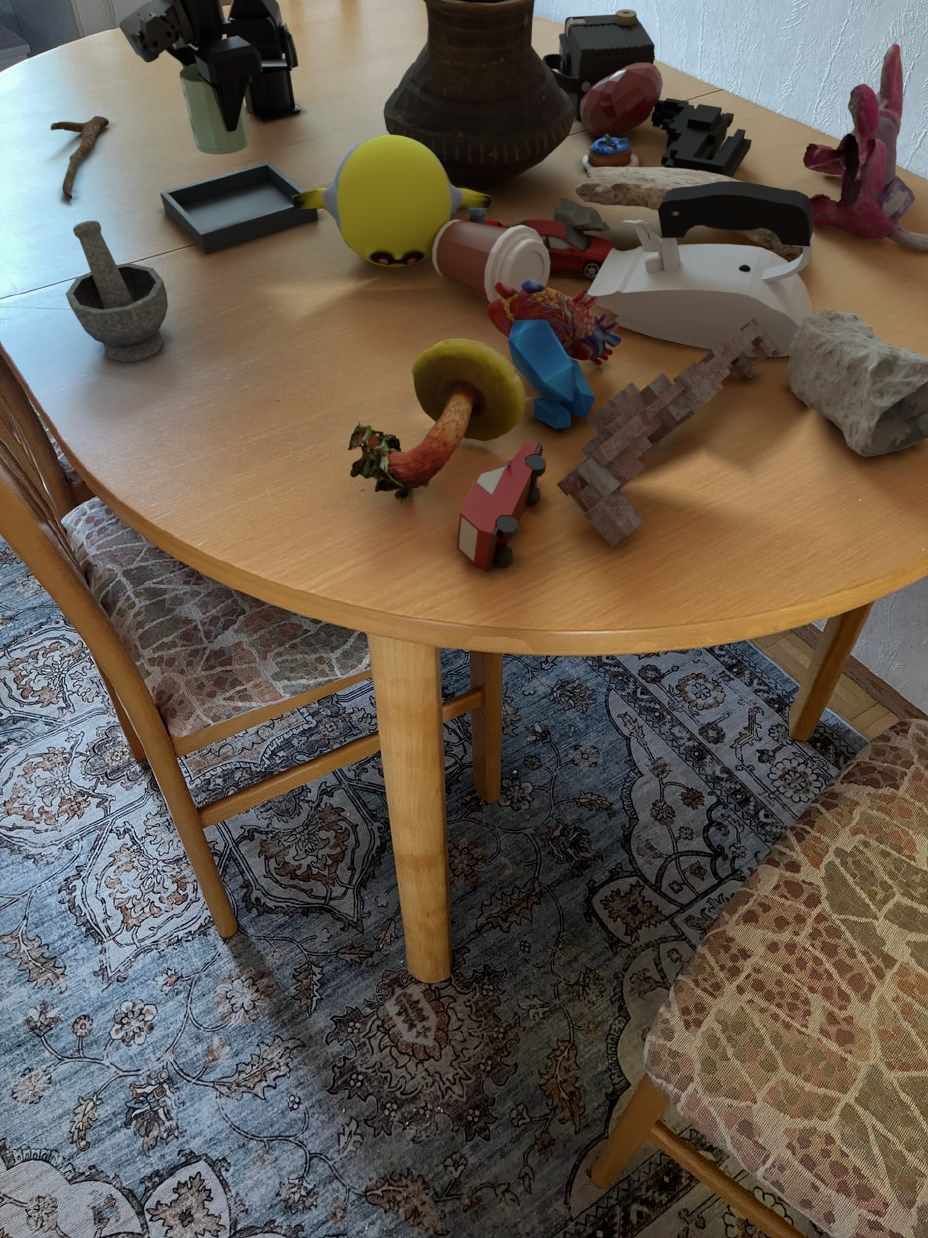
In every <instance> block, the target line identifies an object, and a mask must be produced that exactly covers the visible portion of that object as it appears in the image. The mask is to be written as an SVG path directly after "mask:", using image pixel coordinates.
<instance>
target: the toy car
mask: <svg viewBox="0 0 928 1238" xmlns="http://www.w3.org/2000/svg"><path fill="white" fill-rule="evenodd" d="M500 222H501V221H500ZM500 222H495V223H494V224H493V226H495V227H501V228H506V229H509V228H511V227H515V226H519V225H524V226H527V227H529V228H532V229H534V230H536V231H537V233H538V234H539V236H540V237H541V239H542V240H543V244H544V245H545V247H546V248H547V250H548V253H549V258H550V271H551V270H552V271H554V270H555V271H565V272H566V271H567V272H575V273H582V274H583V276H584V277H585V278H586V279H588V280H595V278H596V276H597V274H598V272H599V271H600V269H601V267H602V265H603V263H604V261H605V260H606V258H607V256H608V254H609V252H610V250H611V249H612V248H614V249H616V250H617V248H616V247H615V245H614V243H613V242H612V241H611V240H609V239H607V238H604V237H601V236H597V235H593V234H589V233H586V232H582V231H580V230H578V229H576V228H573V227H571V225H569V224H567V223H564V222H561V221H556V220H553V219H541V218H529V219H525V220H522V221H519V222H516V223H513V224H511V225H505V226H503V224H504V223H503V222H502V223H503V224H502V223H500ZM496 225H498V226H496Z"/></svg>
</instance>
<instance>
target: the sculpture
mask: <svg viewBox="0 0 928 1238" xmlns="http://www.w3.org/2000/svg"><path fill="white" fill-rule="evenodd" d="M740 330H741V332H740V333H739V334H738V335H736V336H735V337H734V338H733V339H732V338H731V337H730V336H728V337H727V338H726V339H725V340H724V341H723V342H721V343H720V344H719V345H718V346H717V347H715V348H714V349H713V350H711V351H709V352H708V353H707V354H705V356H704V357H703V358H701V359H700V360H699V361H698V362H697V363H696V362H695V361H693V362H691V364H689V365H688V366H687V367H686V368H685V369H684V370H683V371H681V372H680V373H679V374H678V375H676V376H675V377H674V378H673V379H672V381H673V382H674V384H673V383H672V382H671V381H670V379H669V378H668V377H667V376H666V375H665V374H664V372H662V373H660V374H659V375H658V376H656V378H654V379H653V380H652V381H650V382H649V383H648V384H647V385H646V386H644V388H642V389H641V390H639V387H637V386H636V384H635V383H634V382H633V381H631V382H630V383H628V384H627V385H626V386H624V387H623V388H622V389H621V390H620V391H619V392H617V393H615V395H613V396H612V397H611V398H610V399H609V400H607V401H606V402H605V404H603V405H602V406H601V407H600V408H599V409H598V410H597V411H596V412H595V413H594V414H593V415H592V416H591V417H589V418H588V419H587V421H588V423H589V424H590V425H591V426H592V427H593V429H594V430H595V431H596V432H597V434H596V435H595V436H594V437H593V438H591V439H590V440H589V441H588V442H587V443H586V444H585V445H583V447H581V448H580V451H582V453H583V454H584V455H585V456H586V457H587V458H585V459H584V460H583V461H582V462H581V463H580V464H578V465H577V466H576V467H575V468H574V469H572V470H571V471H570V472H569V473H567V474H566V475H565V476H564V477H563V478H562V479H560V481H558V482H556V486H557V487H558V488H559V489H560V491H561V493H563V495H565V497H568V496H570V498H571V499H572V500H573V501H574V502H575V504H576V505H577V506H578V507H579V508H580V510H581V511H582V512H583V515H584V516H585V518H586V519H587V520H588V521H589V522H590V524H591V525H592V526H593V527H594V528H595V530H596V531H597V532H598V533H599V534H600V536H601V537H602V538H603V539H604V540H605V542H606V543H607V544H608V545H609V546H610V548H612V547H614V546H615V545H617V544H618V543H620V542H621V541H623V540H624V539H626V538H627V537H629V535H630V534H631V533H633V532H634V531H635V529H637V528H638V526H640V525H641V524H642V523H643V522H644V521H645V519H644V517H643V516H642V515H641V514H640V512H639V511H638V510H637V509H636V508H635V507H634V506H633V504H632V503H631V502H630V500H628V498H627V497H626V496H625V495H624V493H622V491H621V489H623V488H624V487H625V486H626V485H628V484H629V483H630V482H631V481H632V480H633V479H634V478H635V477H637V476H638V475H639V474H640V473H641V472H642V471H643V470H644V469H645V468H646V466H645V465H644V464H643V462H642V461H641V460H640V457H641V456H642V455H643V454H645V452H647V451H648V450H649V449H650V448H651V447H653V442H654V444H655V445H657V444H658V443H659V442H661V441H662V440H663V439H665V438H666V437H667V436H668V435H670V434H671V433H672V432H673V431H674V430H675V429H677V428H678V427H680V426H681V425H682V424H683V423H685V422H686V421H687V420H688V419H690V418H691V417H692V416H693V415H695V414H696V413H697V412H698V411H699V410H701V409H702V408H703V407H704V406H705V405H706V404H707V403H708V402H709V401H710V400H711V399H713V398H714V397H715V396H716V395H717V394H718V393H720V392H721V391H722V390H723V389H724V388H725V386H723V384H722V383H721V382H722V381H723V380H725V378H727V377H728V376H729V375H730V374H732V375H733V377H734V378H735V380H736V381H739V380H740V379H741V378H742V377H744V376H745V375H746V376H747V377H748V379H751V378H753V377H754V376H755V375H756V374H757V373H756V372H755V370H754V369H753V368H754V367H755V364H754V363H753V362H752V361H751V359H750V357H747V356H746V355H745V353H744V352H743V351H742V349H744V348H745V347H746V346H747V345H748V344H749V343H750V342H751V343H752V345H753V346H754V347H755V348H754V349H753V350H752V353H753V354H754V355H755V356H756V357H755V358H756V359H757V360H758V361H759V363H761V362H763V361H764V360H765V359H766V358H768V357H767V356H769V355H770V354H772V355H773V357H772V358H774V359H777V358H778V356H779V355H780V354H781V352H780V350H779V349H778V347H777V345H776V344H775V343H774V342H773V340H772V339H771V338H770V337H769V336H768V334H767V333H766V332H765V331H764V330H763V328H762V327H761V326H760V325H759V323H758V322H757V321H756V320H755V319H754V318H753V319H752V320H751V321H749V322H748V323H747V324H746V325H745V326H744V327H742V328H741V329H740ZM729 365H731V367H730V368H728V367H727V366H729Z"/></svg>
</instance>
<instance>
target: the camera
mask: <svg viewBox="0 0 928 1238" xmlns="http://www.w3.org/2000/svg"><path fill="white" fill-rule="evenodd" d="M637 14H638V13H637V12H636V11H635V10H633V9H628V8H627V9H618V10H617V11H616V12H615V14H598V15H578V16H568V17H567V16H566V18H565V19H564V29H563V30H564V32H563V33H562V32H561V33H559V34H558V39H559V45H558V46H559V47H558V49H559V50H558V53H549V54H546V55H543V57H542V60H543V63H544V64H545V65H546V66H547V67H548V69H549V70H550V71H551V72H552V73H553V75H554V77H555V79H556V82H557V84H558V86H559V87H560V88H562V89H563V90H564V92H565V93H566V94H567V95H568V96H569V98H570V99H571V100H572V104H573V111H574V117H575V119H576V120H582V118H581V114H580V103H581V100H582V98H583V97H584V95H585V94H586V93H587V92H588V90H589V89H590V88H591V87H592V86H593V85H594V84H596V83H597V82H599V81H601V80H602V79H604V78H606V77H608V76H609V75H611V74H613V73H615V72H617V71H619V70H621V69H623V68H625V67H627V66H629V65H631V64H634V63H651V64H653V65H654V63H655V62H654V61H655V60H656V54H655V47H656V45H655V43H654V41H653V40H652V39H651V37H650V35H649V33H648V32H647V30H646V28H645V27H644V26H643V24H642V23H641V21H640V20H639V19H638V17H637ZM556 70H557V71H556Z"/></svg>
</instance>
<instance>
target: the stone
mask: <svg viewBox="0 0 928 1238" xmlns="http://www.w3.org/2000/svg"><path fill="white" fill-rule="evenodd" d="M552 220H556V221H561V222H564V223H567V224H569V225H571V227H573V228H576V229H578V230H580V231H582V232H583V233H587V232H591V231H594V232H598V233H599V232H600V233H603V232H610V231H611V228H610V226H608V224H607V223H606V222H605V221H603V219H602V216H601V215H600V213H599V212H598V210H597V209H595V208H594V207H591V206H585V205H582V204H580V203H578V202H576V201H574V200H572V199H570V198H569V197H561V198H559V201H558V204H557V205H556V206H555V207H554V209H553V214H552Z"/></svg>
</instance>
